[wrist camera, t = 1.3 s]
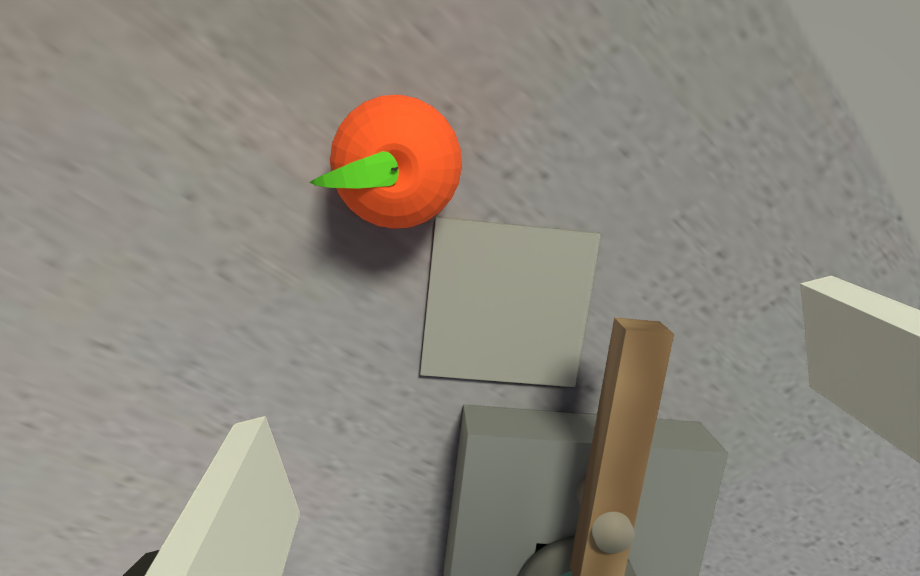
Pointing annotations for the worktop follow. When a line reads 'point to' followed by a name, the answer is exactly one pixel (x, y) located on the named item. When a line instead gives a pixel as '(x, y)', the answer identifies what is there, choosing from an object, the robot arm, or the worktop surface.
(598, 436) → the brown wooden lever
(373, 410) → the worktop surface
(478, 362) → the mat
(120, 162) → the worktop surface
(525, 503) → the socket block
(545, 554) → the plug
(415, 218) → the clementine
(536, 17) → the worktop surface
